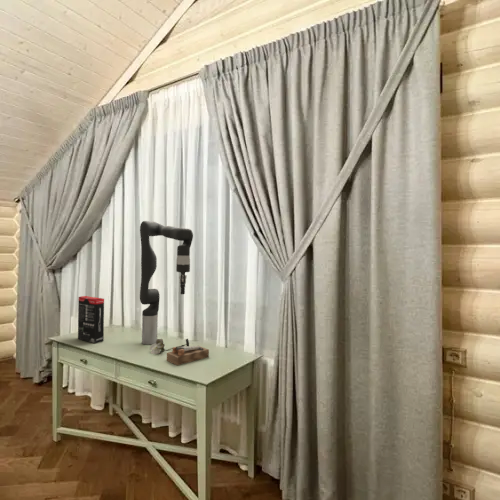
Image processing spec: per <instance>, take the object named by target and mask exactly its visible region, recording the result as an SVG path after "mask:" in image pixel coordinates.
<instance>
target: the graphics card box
mask: <svg viewBox="0 0 500 500" xmlns="http://www.w3.org/2000/svg"><path fill="white" fill-rule="evenodd" d="M77 305H78V307H77V309H78V311H77V314H78V315H77V317H78V318H77V340H82V341H84V342H89V343H93V344H97V343H101V342H103V341H104V340H105V339H104V338H105V337H104V333H105V332H104V331H105V329H104V327H105V324H104V323H105V321H104V320H105V298H101V297H94V296H87V295H83V296H82V295H81V296H78V304H77Z"/></svg>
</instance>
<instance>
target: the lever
mask: <svg viewBox="0 0 500 500" xmlns="http://www.w3.org/2000/svg"><path fill="white" fill-rule="evenodd" d="M199 346H200V345H189V346H187V345H185V346H183V347H178V346H175V347H176V350H180V349H184V350H196V349H200V348H201V347H202V346H200V347H199Z"/></svg>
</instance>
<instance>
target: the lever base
mask: <svg viewBox="0 0 500 500" xmlns="http://www.w3.org/2000/svg"><path fill="white" fill-rule="evenodd" d="M198 346H199V347H201V348H200V349H196V350H184V349H180V350H176V347H177V346H175V347H172V348H173V349H171V350H172V351H169V352H166V361H167V362H169V363H171V364H174V365H175V366H180V365H184V364H186V363H192V362H195V361H198V360H202V359H206V358H209V357H210V355H209V354H210V349H208V348H205V347H203V346H200V345H198Z"/></svg>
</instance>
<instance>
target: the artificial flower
mask: <svg viewBox="0 0 500 500" xmlns="http://www.w3.org/2000/svg"><path fill="white" fill-rule="evenodd" d="M185 346H190V342H189V338H186V339H185V344H181V345H179V346H177V347H185ZM172 349H173V347H171V348H169V349H165V343H164V340H163V339H162V338H157V340H156V343H154V344H150V346H149V350H150V354H151V355H157V354H158V355H159V354H160V353H161V352H166V351H170V350H172Z"/></svg>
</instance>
